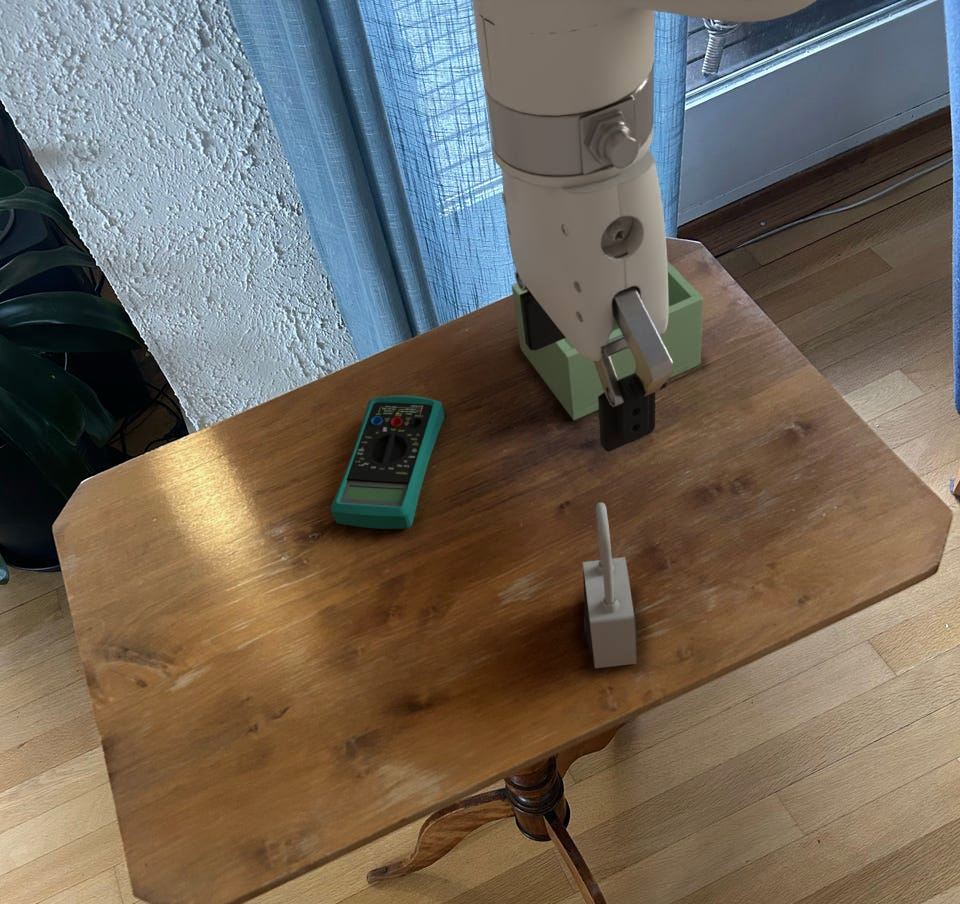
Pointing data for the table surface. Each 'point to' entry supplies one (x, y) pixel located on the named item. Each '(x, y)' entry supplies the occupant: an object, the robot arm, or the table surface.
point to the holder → (578, 374)
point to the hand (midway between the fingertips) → (587, 387)
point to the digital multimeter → (388, 462)
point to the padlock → (608, 604)
